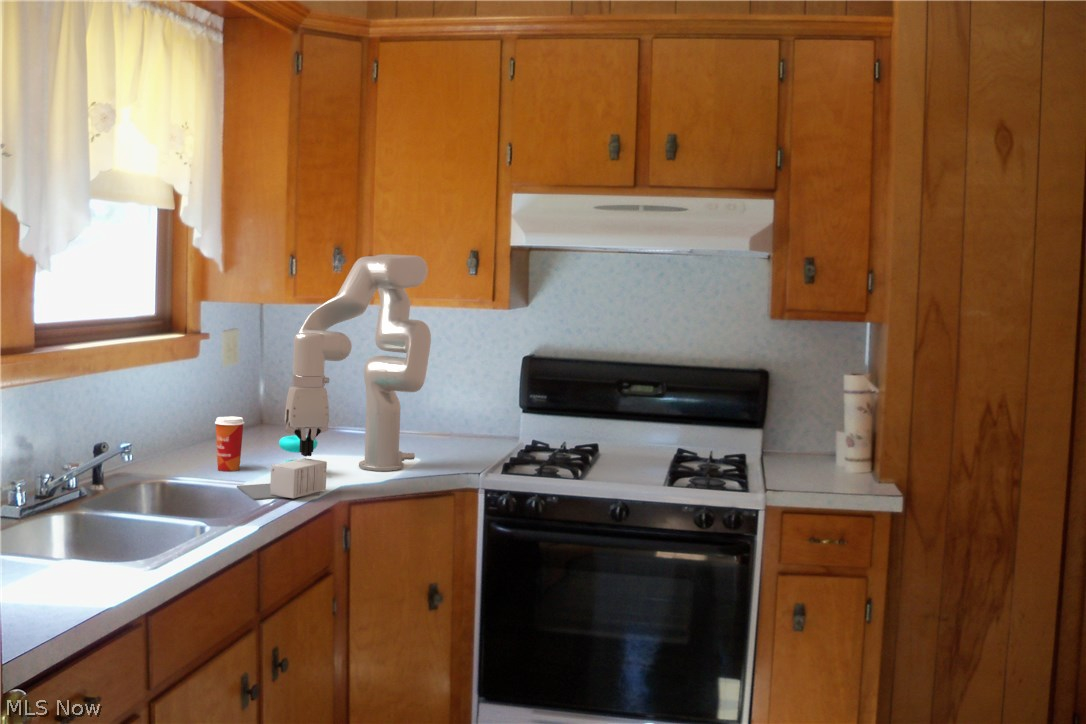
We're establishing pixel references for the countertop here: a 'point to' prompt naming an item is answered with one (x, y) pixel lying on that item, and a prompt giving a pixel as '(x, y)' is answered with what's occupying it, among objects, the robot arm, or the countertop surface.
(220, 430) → the paper cup
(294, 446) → the donuts
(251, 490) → the mat
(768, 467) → the countertop surface
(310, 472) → the supplement box
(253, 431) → the countertop surface
